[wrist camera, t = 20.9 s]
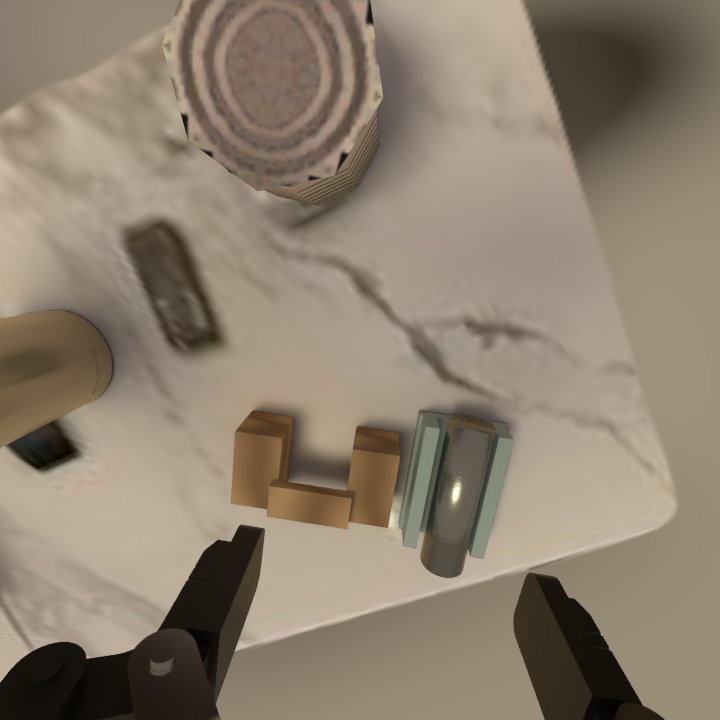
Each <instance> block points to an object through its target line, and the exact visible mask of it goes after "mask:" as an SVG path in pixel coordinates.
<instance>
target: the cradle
mask: <svg viewBox="0 0 720 720" xmlns="http://www.w3.org/2000/svg"><path fill="white" fill-rule="evenodd" d="M450 416H452V415H445V414H438V413H431V412H425V411H419V414H418V420H417V425H416V430H415V436H414V441H413V447H412V452H411V457H410V463H409V468H408V474H407V479H406V485H405V490H404V495H403V501H402V506H401V512H400V517H399V528H401V529H402V537H403V546H404V547H411V548H416V546H417V541H418V536H419V531H420V532H425V531H426V526H427V521H428V516H429V511H430V506H431V501H432V496H433V492H434V487H435V482H436V477H437V472H438V467H439V462H440V457H441V453H442V448H443V443H444V438H445V433H446V428H447V423H448V418H449V417H450ZM488 422H489V423H491V424H492V425H494V426H495V428H496V434H495V438H494V442H493V446H492V450H491V454H490V459H489V463H488V467H487V471H486V475H485V479H484V484H483V488H482V492H481V496H480V500H479V505H478V509H477V513H476V517H475V521H474V525H473V530H472V534H471V538H470V542H469V546H468V550H469V554H470V557H475V558H481V559H483V558H484V554H485V551H486V547H487V543H488V539H489V535H490V531H491V527H492V523H493V519H494V515H495V511H496V507H497V503H498V499H499V495H500V491H501V487H502V483H503V480H504V476H505V472H506V468H507V464H508V460H509V456H510V452H511V448H512V444H513V438H512V437H511V435H510V434H509V432H508V426H507V425H506V423H499V422H492V421H488Z"/></svg>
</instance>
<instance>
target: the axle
mask: <svg viewBox="0 0 720 720" xmlns="http://www.w3.org/2000/svg"><path fill="white" fill-rule="evenodd" d="M495 434H496V428H495V426H494V425H492V424H491V423H489V422H488V421H486V420H483V419H481V418H478V417H474V416H469V415H453V416H450V417H449V418H448V423H447V428H446V433H445V438H444V443H443V448H442V453H441V457H440V462H439V467H438V472H437V477H436V482H435V487H434V492H433V496H432V501H431V506H430V511H429V516H428V521H427V526H426V531H425V535H424V540H423V545H422V550H421V555H420V559H421V562H422V564H423V565H424V567H425V568H426V569H427V570H428V571H430V572H431V573H433V574H435V575H437V576H440V577H444V578H453V577H457V576H459V575H460V574H461V573H462V571H463V567H464V563H465V559H466V555H467V550H468V546H469V542H470V538H471V534H472V530H473V525H474V521H475V517H476V513H477V509H478V505H479V500H480V496H481V492H482V488H483V484H484V479H485V475H486V471H487V467H488V463H489V459H490V454H491V450H492V446H493V442H494V438H495Z"/></svg>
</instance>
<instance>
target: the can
mask: <svg viewBox="0 0 720 720" xmlns="http://www.w3.org/2000/svg"><path fill="white" fill-rule="evenodd" d="M162 47H163V51H164V54H165V58H166V62H167V65H168V69H169V73H170V76H171V80H172V83H173V87H174V91H175V94H176V98H177V102H178V105H179V109H180V112H181V116H182V120H183V123H184V127H185V131H186V134H187V138H188V141H190V142H191V143H192V144H194V145H195V146H196V147H198V148H199V149H201V150H202V151H203V152H205V153H206V154H207V155H209V156H210V157H212V158H213V159H214V160H216V161H217V162H218V163H220V164H221V165H223V166H224V167H225V168H226V169H227V170H228V171H229V172H230V173H232V174H234V175H236V176H238V177H239V178H240V179H242V180H243V181H245V182H246V183H247V184H249V185H250V186H251V187H253V188H254V189H256V190H257V191H260V190H266V191H268V192H270V193H272V194H274V195H276V196H279V197H283V198H287V199H292V200H296V201H300V202H304V203H308V204H313V205H317V206H319V205H321V204H323V203H325V202H327V201H329V200H332V199H334V198H336V197H338V196H340V195H342V194H344V193H347V192H349V191H351V190H353V189H355V188H357V186H358V184H359V183H360V181H361V179H362V177H363V175H364V174H365V172H366V170H367V168H368V166H369V165H370V163H371V161H372V159H373V157H374V155H375V154H376V152H377V150H378V148H379V139H378V121H377V107H378V106H379V104H380V102H381V101H382V99H383V92H382V85H381V77H380V70H379V63H378V55H377V48H376V40H375V33H374V25H373V18H372V10H371V3H370V0H180V3H179V5H178V7H177V10H176V12H175V15H174V17H173V19H172V22H171V24H170V26H169V29H168V31H167V33H166V36H165V38H164V40H163V43H162Z"/></svg>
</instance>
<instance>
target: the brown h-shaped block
mask: <svg viewBox="0 0 720 720" xmlns="http://www.w3.org/2000/svg"><path fill="white" fill-rule="evenodd" d="M293 421H294V417H289V416H282V415H276V414H269V413H262V412H256V411H252V412H251V413H250V414H249V416H248V417H247V418H246V419H245V420H244V422H243V423H242V424H241V425H240V426H239V428H238V429H237V430H236V431H235V445H234V462H233V478H232V495H231V504H237V505H244V506H250V507H257V508H263V509H267V517H273V518H279V519H286V520H292V521H299V522H305V523H311V524H318V525H324V526H331V527H337V528H344V529H347V528H348V522H353V523H360V524H366V525H373V526H379V527H386V528H388V524H389V518H390V512H391V507H392V501H393V495H394V490H395V484H396V479H397V473H398V467H399V462H400V443H399V433H396V432H389V431H383V430H376V429H369V428H362V427H357V428H356V434H355V440H354V446H353V452H352V459H351V466H350V473H349V480H348V487H347V491H344V490H337V489H331V488H324V487H317V486H311V485H304V484H298V483H291V482H287V481H288V471H289V461H290V451H291V441H292V431H293Z"/></svg>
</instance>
